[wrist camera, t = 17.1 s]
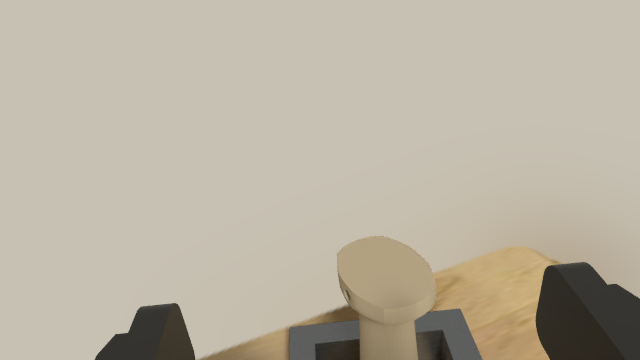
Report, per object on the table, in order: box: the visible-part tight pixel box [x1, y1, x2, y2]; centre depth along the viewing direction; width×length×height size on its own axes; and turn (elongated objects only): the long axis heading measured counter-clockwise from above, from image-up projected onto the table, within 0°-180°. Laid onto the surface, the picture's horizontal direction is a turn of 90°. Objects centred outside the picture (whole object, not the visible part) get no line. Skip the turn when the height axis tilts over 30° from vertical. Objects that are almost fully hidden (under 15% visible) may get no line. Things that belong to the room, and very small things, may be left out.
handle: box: [337, 236, 436, 360], centre depth 30 cm, size 5×6×15 cm
